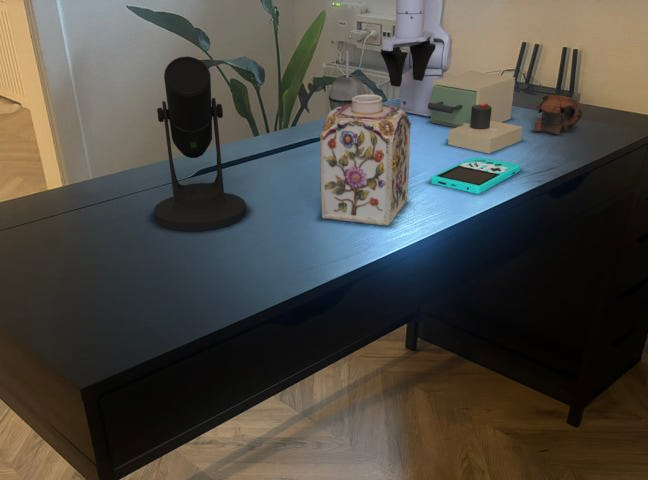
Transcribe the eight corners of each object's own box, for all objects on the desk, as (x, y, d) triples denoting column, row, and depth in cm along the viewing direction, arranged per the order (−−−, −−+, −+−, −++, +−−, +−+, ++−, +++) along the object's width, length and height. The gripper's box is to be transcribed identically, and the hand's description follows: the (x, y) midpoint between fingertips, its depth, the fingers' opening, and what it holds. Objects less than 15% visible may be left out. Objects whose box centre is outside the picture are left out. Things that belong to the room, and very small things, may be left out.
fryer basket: (458, 132, 158) (461, 96, 154) (417, 123, 164) (419, 89, 160) (503, 116, 168) (507, 82, 165) (463, 109, 175) (466, 76, 171)
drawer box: (475, 131, 161) (479, 87, 157) (431, 122, 169) (433, 80, 164) (510, 118, 170) (515, 77, 165) (466, 110, 177) (470, 70, 172)
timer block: (445, 144, 153) (446, 128, 152) (478, 132, 161) (479, 117, 159) (489, 153, 147) (490, 137, 145) (520, 141, 154) (522, 125, 153)
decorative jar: (408, 202, 124) (414, 91, 114) (390, 227, 115) (394, 108, 105) (341, 195, 127) (341, 87, 118) (318, 219, 118) (316, 103, 109)
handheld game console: (521, 171, 137) (522, 164, 136) (479, 194, 127) (480, 187, 126) (473, 161, 143) (474, 154, 142) (429, 183, 132) (430, 176, 132)
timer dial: (482, 130, 150) (484, 108, 148) (466, 127, 153) (468, 105, 151) (493, 126, 153) (495, 105, 151) (477, 123, 155) (479, 102, 153)
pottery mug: (520, 131, 162) (531, 94, 162) (548, 145, 168) (558, 109, 167) (563, 128, 152) (574, 88, 152) (592, 143, 157) (603, 104, 157)
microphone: (155, 238, 113) (130, 64, 99) (154, 200, 127) (133, 44, 114) (252, 229, 115) (240, 58, 102) (240, 193, 129) (228, 40, 116)
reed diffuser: (366, 152, 149) (368, 46, 138) (364, 163, 143) (366, 53, 132) (330, 152, 150) (329, 46, 139) (327, 163, 144) (326, 53, 133)
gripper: (403, 17, 142) (400, 91, 149) (447, 10, 151) (442, 79, 158) (375, 15, 146) (373, 86, 153) (420, 7, 155) (416, 75, 162)
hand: (407, 83), depth 156 cm, fingers open, 7 cm apart
